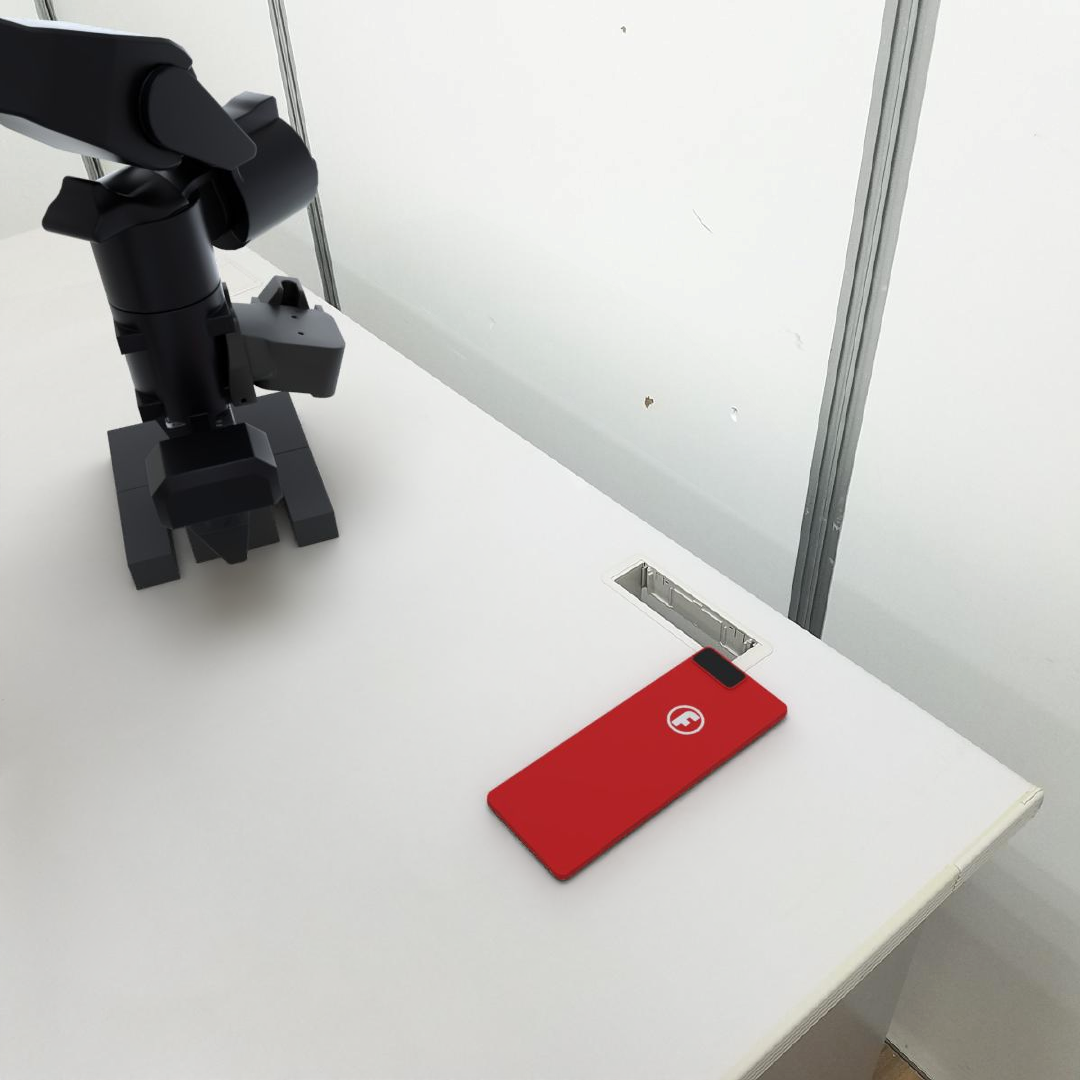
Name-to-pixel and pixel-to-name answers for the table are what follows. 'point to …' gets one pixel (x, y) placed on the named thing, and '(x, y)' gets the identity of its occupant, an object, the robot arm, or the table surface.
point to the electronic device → (634, 761)
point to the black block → (259, 534)
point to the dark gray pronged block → (154, 543)
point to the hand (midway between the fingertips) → (228, 523)
